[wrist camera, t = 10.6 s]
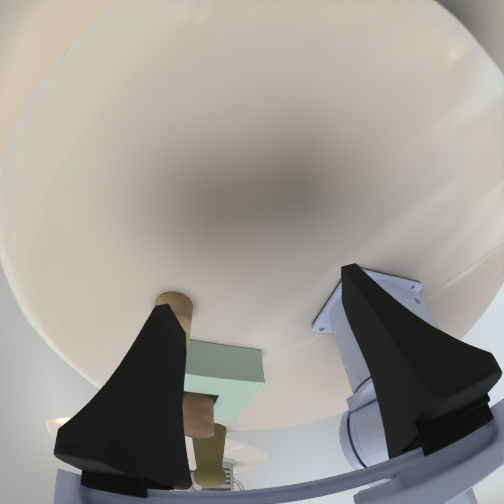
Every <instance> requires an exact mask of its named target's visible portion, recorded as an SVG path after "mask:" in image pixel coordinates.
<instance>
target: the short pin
mask: <svg viewBox="0 0 504 504" xmlns="http://www.w3.org/2000/svg"><path fill="white" fill-rule="evenodd" d="M167 303H169V305H170V307H171V309H172V311H173V312H174V314H175V316H176V317H177V319H178V321H179V323H180V324H181V326H182V328H183V329H184V331H185V333H186V346H187V348H188V347H189V343H190V330H191V318H192V302H191V300H190V299H189V298H188V297H187V296H185V295H183V294H181V293H178V292H166V293H163V294H161V295H160V296H159V297H158V299H157V302H156V305H162V304H167Z"/></svg>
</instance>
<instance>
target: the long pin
mask: <svg viewBox="0 0 504 504" xmlns="http://www.w3.org/2000/svg"><path fill="white" fill-rule="evenodd" d="M183 421H184V434H185V436H188V437H191V438H209V437H212V436H214V398H213V395H211V394H203V393H195V392H188V391H184V397H183Z"/></svg>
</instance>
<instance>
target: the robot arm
mask: <svg viewBox="0 0 504 504" xmlns="http://www.w3.org/2000/svg"><path fill="white" fill-rule="evenodd" d="M422 288H423V285H422V284H421V283H420V282H416V281H411V280H407V279H403V278H399V277H395V276H390V275H386V274H382V273H377V272H373V271H369V270H365V269H361V268H360V267H359V266H358V265H357V264H356V263H354V264H350V265H346V266H342V267H341V282H340V284H339V285H338V287H337V289H336V290H335V292H334V293H333V295H332V296H331V298H330V300H329V301H328V303H327V304H326V306H325V307H324V309H323V310H322V312H321V313H320V315H319V316H318V318H317V319H316V321H315V322H314V324H313V325H312V330H313V331H315V332H323V333H333V334H334V336H335V339H336V342H337V345H338V348H339V351H340V354H341V357H342V360H343V363H344V366H345V370H346V373H347V376H348V379H349V382H350V386H351V389H352V392H353V395H352V396H351V397H349V398H347V399H346V400H347V403H348V407H349V410H347V411H346V412H345V413H344V414H343V416H342V419H341V425H340V429H339V437H340V443H341V447H342V450H343V453H344V455H345V457H346V459H347V460H348V462H349V463H350V464H351V466H352V467H353V468H354V469H356V471H352V472H349V473H345V474H341V475H337V476H333V477H328V478H324V479H320V480H315V481H310V482H305V483H299V484H293V485H287V486H280V487H272V488H265V489H254V490H241V491H221V492H188V491H168V490H174V489H178V490H179V489H180V490H188V489H189V488H190V487H191V486H192V485H193V483H192V479H191V474H190V469H189V464H188V458H187V451H186V444H185V434H184V421H183V393H184V381H185V369H186V357H187V346H186V333H185V331H184V329H183V328H182V326H181V324H180V323H179V321H178V319H177V317H176V316H175V314H174V312H173V311H172V309H171V307H170V305H169V303H167V304H162V305H156V306H155V307H154V309H153V311H152V312H151V314H150V316H149V317H148V319H147V321H146V323H145V324H144V326H143V328H142V329H141V331H140V333H139V335H138V336H137V338H136V340H135V341H134V343H133V345H132V346H131V348H130V349H129V351H128V353H127V354H126V356H125V357H124V359H123V360H122V362H121V363H120V365H119V366H118V368H117V369H116V370H115V372H114V373H113V375H112V376H111V377H110V378H109V380H108V381H107V382H106V384H105V385H104V386H103V387H102V388H101V389H100V390H99V392H98V393H97V394H96V395H95V396H94V397H93V398H92V400H91V401H90V402H89V403H88V404H87V405H86V406H85V407H84V408H82V409H81V410H80V411H79V412H78V413H77V414H76V415H75V416H74V417H73V418H71V419H70V420H69V421H68V422H66V423H65V424H64V425H63V426H61V427H60V428H59V429H58V432H57V437H56V442H55V448H54V455H55V456H56V457H57V458H58V459H60V460H62V461H63V462H66V463H68V464H70V465H72V466H74V467H76V468H78V469H81V470H82V475H79V474H76V473H73V472H69V471H65V470H61V469H58V470H57V477H56V484H55V494H54V504H278V503H285V502H292V501H298V500H304V499H309V498H315V497H320V496H325V495H329V494H333V493H338V492H342V491H345V490H349V489H352V488H357V487H360V486H363V485H367V484H368V485H369V486H370V487H371V488H368V489H365V490H362V491H359V492H358V493H357V494H355V495H354V496H353V497H354V502H355V504H478V503H477V500H476V498H475V495H474V492H473V489H472V487H474V486H475V485H477V484H478V483H479V482H481V481H482V480H484V479H485V478H486V477H488V476H489V475H491V474H492V473H493V472H495V471H496V470H497V469H499V468H500V467H501V466H503V465H504V399H502V400H501V401H499V402H498V403H496V404H495V405H494V406H492V407H491V408H489V405H488V402H489V401H490V398H489V396H488V394H487V393H488V392H489V391H490V390H491V388H492V387H493V386H494V385H495V384H496V383H497V382H498V380H499V379H500V377H501V375H502V371H501V369H500V367H499V365H498V363H497V361H496V359H495V358H494V356H493V355H492V353H490V352H487V351H485V350H482V349H479V348H476V347H474V346H471V345H469V344H467V343H464V342H462V341H460V340H458V339H456V338H454V337H452V336H450V335H448V334H446V333H445V332H443V331H441V330H440V328H439V326H438V324H437V323H436V321H435V319H434V318H433V316H432V314H431V313H430V311H429V309H428V308H427V306H426V304H425V303H424V301H423V300H422V298H421V297H420V295H419V292H420V291H421V290H422Z"/></svg>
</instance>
